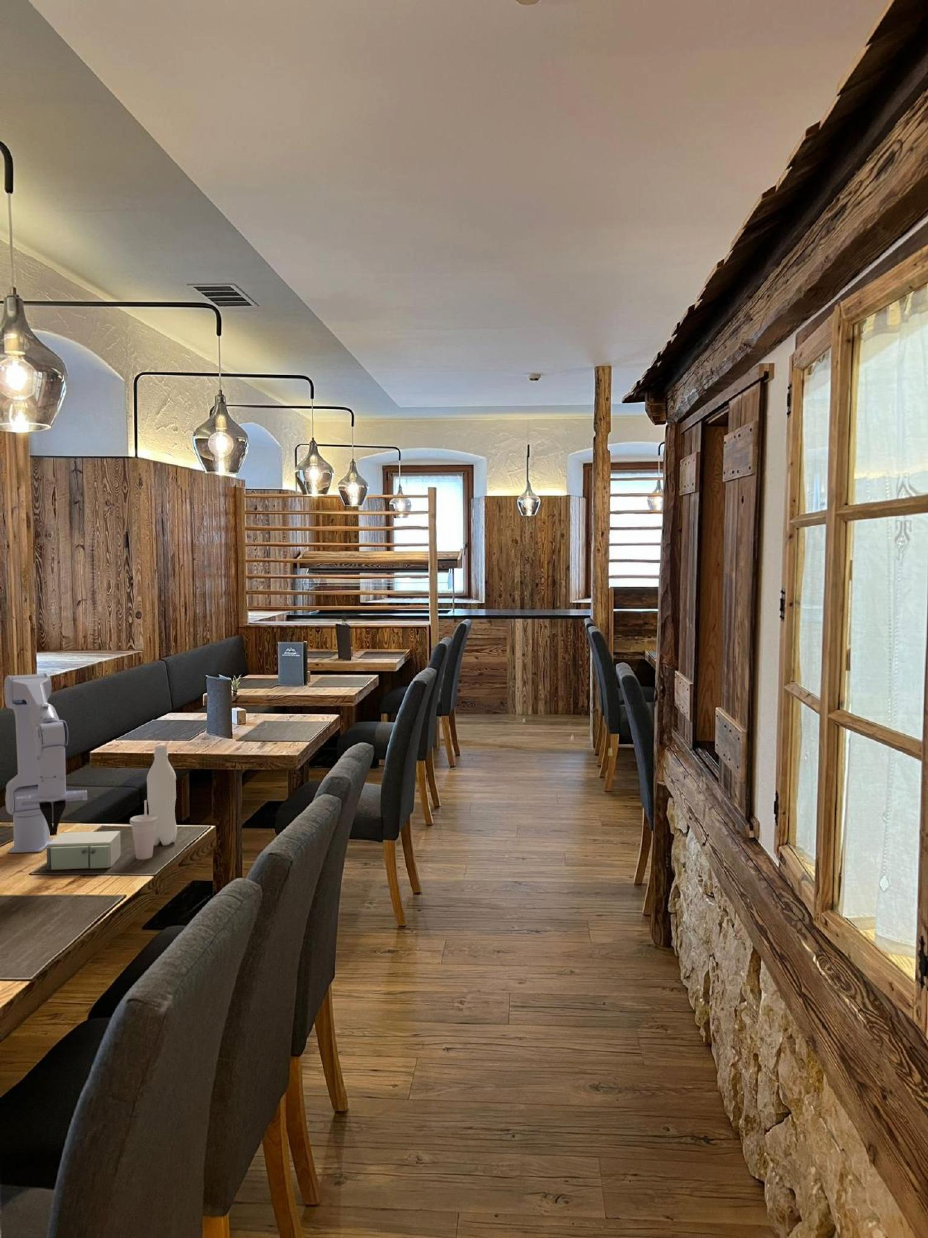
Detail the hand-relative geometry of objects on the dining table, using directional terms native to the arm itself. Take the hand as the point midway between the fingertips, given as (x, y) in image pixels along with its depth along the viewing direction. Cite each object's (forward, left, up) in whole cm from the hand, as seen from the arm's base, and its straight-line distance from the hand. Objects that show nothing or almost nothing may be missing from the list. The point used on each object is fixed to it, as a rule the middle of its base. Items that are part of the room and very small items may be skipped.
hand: (53, 834), depth 205 cm
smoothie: (-12, +17, -10) cm, 23 cm away
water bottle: (-23, +19, -10) cm, 32 cm away
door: (-4, +2, -9) cm, 11 cm away
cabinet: (-9, +4, -10) cm, 14 cm away
